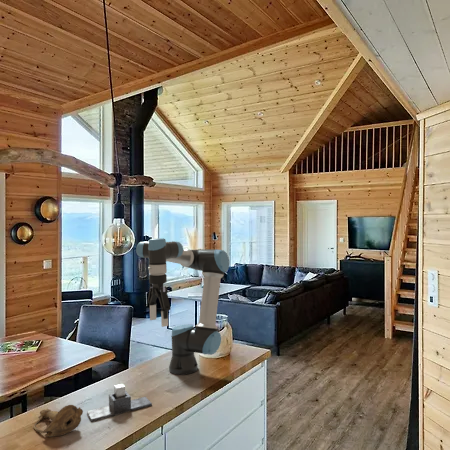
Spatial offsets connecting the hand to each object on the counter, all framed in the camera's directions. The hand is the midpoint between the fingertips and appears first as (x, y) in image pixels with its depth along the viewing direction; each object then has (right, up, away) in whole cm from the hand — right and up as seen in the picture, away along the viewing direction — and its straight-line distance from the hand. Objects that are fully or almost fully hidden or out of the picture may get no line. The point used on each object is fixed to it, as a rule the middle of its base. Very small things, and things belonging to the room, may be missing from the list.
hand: (158, 322), depth 176 cm
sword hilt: (-39, -36, -17) cm, 56 cm away
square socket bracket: (-15, -35, -6) cm, 39 cm away
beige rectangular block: (-15, -35, -6) cm, 39 cm away
